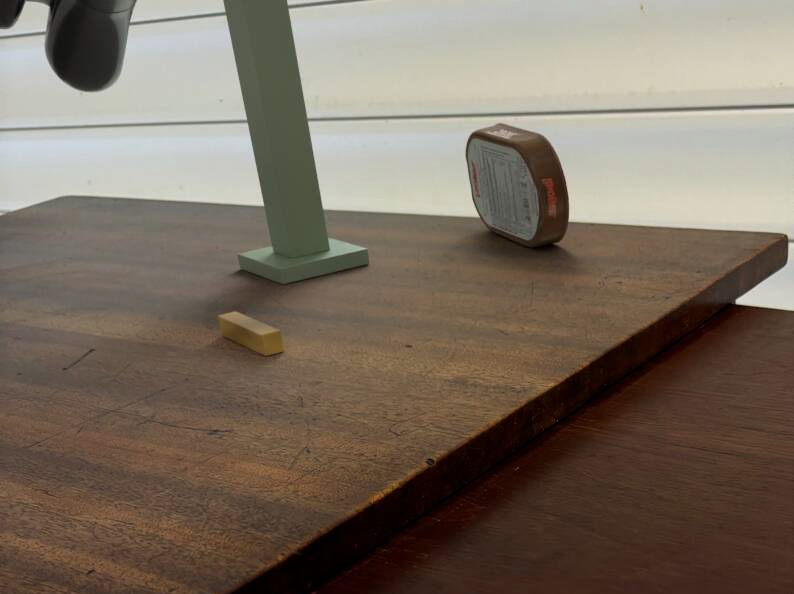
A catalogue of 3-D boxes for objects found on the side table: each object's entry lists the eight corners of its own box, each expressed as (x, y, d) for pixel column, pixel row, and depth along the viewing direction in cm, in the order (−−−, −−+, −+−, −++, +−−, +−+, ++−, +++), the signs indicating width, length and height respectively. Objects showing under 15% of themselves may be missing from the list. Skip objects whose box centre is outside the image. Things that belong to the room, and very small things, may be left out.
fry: (222, 335, 82) (217, 315, 81) (240, 331, 83) (235, 310, 82) (265, 356, 77) (261, 335, 77) (284, 351, 78) (280, 330, 77)
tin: (575, 251, 95) (568, 136, 90) (540, 257, 94) (532, 141, 89) (498, 221, 106) (489, 117, 102) (467, 226, 105) (456, 122, 100)
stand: (222, 262, 100) (118, -201, 82) (305, 244, 104) (223, -203, 86) (302, 292, 90) (204, -228, 72) (391, 270, 94) (319, -229, 76)
